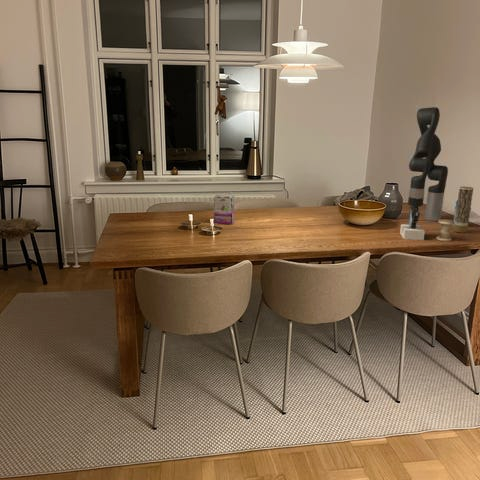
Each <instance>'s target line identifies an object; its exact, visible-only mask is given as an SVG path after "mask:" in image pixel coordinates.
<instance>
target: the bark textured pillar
mask: <svg viewBox="0 0 480 480" xmlns="http://www.w3.org/2000/svg"><path fill="white" fill-rule="evenodd" d="M473 193H474V187H472V186H459V190H458V194H459V196H457V200H458V203H457V210H456V217H455V224H454V225H453V232H456V233H459V232H460V234H461V233H462V234H464V233H467V231H468V227H469V222H470V216H469V214H471V210H470V208H471V209H472V207H471V206H472V200H473ZM468 221H469V222H468Z"/></svg>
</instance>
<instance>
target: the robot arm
mask: <svg viewBox="0 0 480 480" xmlns="http://www.w3.org/2000/svg"><path fill="white" fill-rule="evenodd" d="M440 116H441V114H440V108H439V107H437V106H434V107H433V106H432V107H423V108H419V109H418V110H417V113H416V120H417V125H418V128H419V132H420V137H419V139H418V140H417V143H416V146H415V147H416V148H415V152H414V153H413V156H412V157H411V159H410V160H409V163H408V169H409V170H410V171H411V172H417V173H421V174H420V175H414V176H412V177H411V179H410V187H409V192H408V197H407V198H408V200H407V205H408V206H409V217H408V218H410V214H411V218H412V224H411V229H416V225H417V223H416V222H418V221H419V217H420V208H419V207H422V206H424V199H425V185H426V179H429V181H437V182H438V183H437V184H434V185H430V186H429V187H428V189H427V198H426V204H425V205H426V206H425V212H424V220H426V221H431V222H438V221H439V220H440V219H442V213H443V212H442V211H443V205H444V196H445V189H446V185H447V179H448V176H449V175H448V174H449V168H448V166H446V165H439V164H438V165H437V164H435V160H436V159H437V158H438V156H439V155H440V154H441V151H442V147H441V146H442V143H441V139H440V138H439V136H438V135H437V134H436V131H437V127H438V125H439V122H440ZM415 218H416V220H414V219H415Z"/></svg>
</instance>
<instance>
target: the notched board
mask: <svg viewBox="0 0 480 480" xmlns="http://www.w3.org/2000/svg"><path fill="white" fill-rule="evenodd" d="M399 232H400V235H401V237H402V239H403V240H413V241H415V240H416V241H424V239H425V232H426V231H425V229H423V228H422V226H421V224H416V229H409V224H400V231H399Z"/></svg>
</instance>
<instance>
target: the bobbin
mask: <svg viewBox="0 0 480 480" xmlns="http://www.w3.org/2000/svg"><path fill="white" fill-rule="evenodd" d="M437 222H438V223H439V224H440V231H439V235H437V236H436V237H435V239H436V240H437V241H440V242H451V241H452V240H453V237H451V236H450V232H451V231H450V230H451V226H454V225H453V224H454V220H451V219H445V218H443V219H442V218H441V219H440V220H439V221H437Z"/></svg>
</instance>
